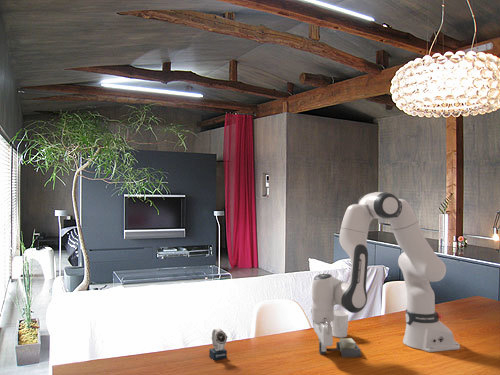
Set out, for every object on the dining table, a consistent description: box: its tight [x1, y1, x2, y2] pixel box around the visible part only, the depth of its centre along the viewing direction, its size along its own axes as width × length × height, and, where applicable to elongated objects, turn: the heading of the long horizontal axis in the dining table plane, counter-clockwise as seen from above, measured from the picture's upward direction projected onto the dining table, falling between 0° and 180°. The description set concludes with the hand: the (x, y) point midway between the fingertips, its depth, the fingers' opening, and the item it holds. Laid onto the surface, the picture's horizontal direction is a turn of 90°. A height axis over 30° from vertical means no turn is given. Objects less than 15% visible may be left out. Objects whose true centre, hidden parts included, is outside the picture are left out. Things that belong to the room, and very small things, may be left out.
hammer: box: [318, 337, 356, 355], centre depth 174 cm, size 14×5×5 cm, turn 93°
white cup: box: [330, 310, 349, 339], centre depth 195 cm, size 8×8×10 cm
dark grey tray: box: [335, 341, 362, 358], centre depth 174 cm, size 8×9×3 cm
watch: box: [208, 328, 228, 361], centre depth 169 cm, size 6×8×11 cm
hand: (322, 349), depth 174 cm, fingers closed on hammer
